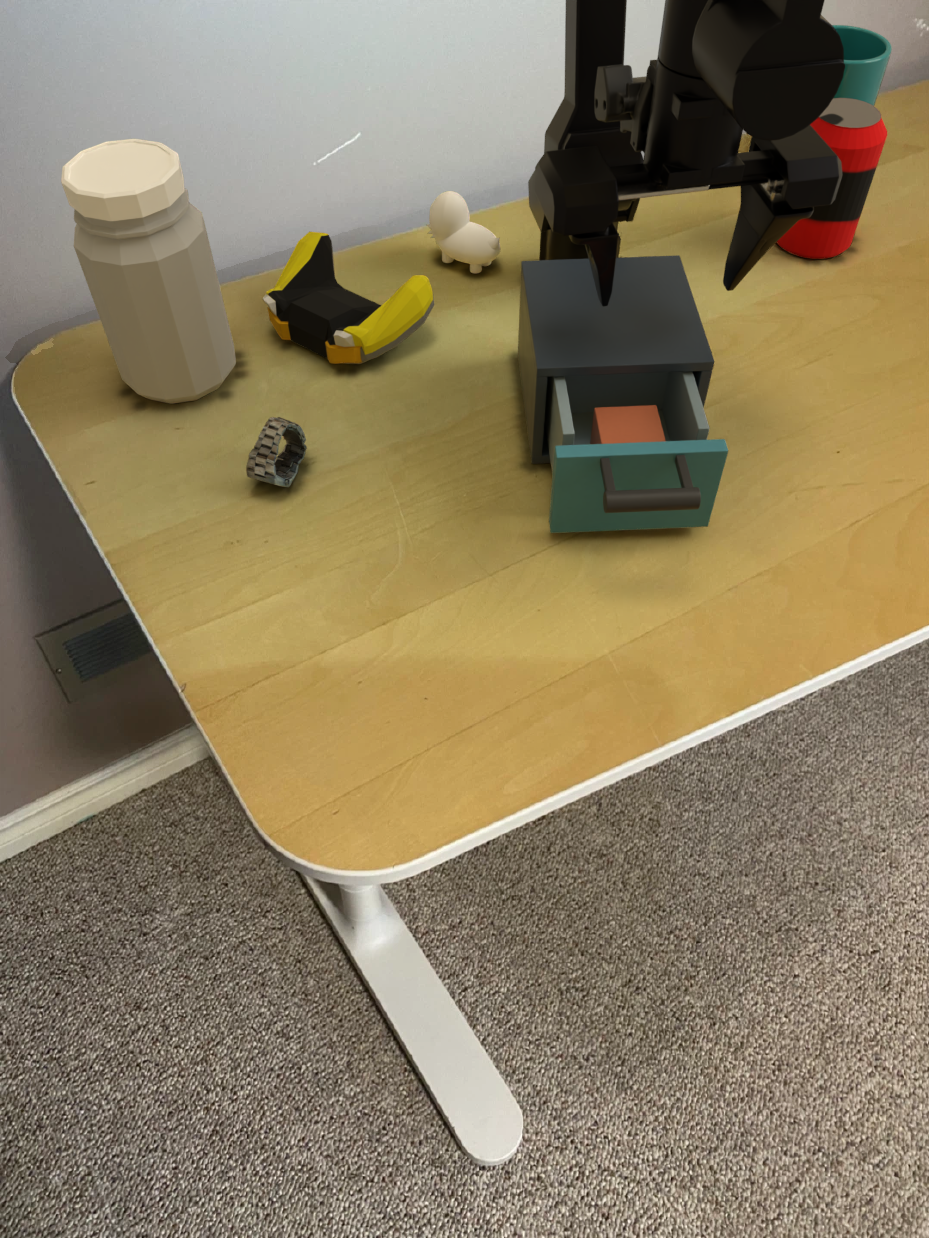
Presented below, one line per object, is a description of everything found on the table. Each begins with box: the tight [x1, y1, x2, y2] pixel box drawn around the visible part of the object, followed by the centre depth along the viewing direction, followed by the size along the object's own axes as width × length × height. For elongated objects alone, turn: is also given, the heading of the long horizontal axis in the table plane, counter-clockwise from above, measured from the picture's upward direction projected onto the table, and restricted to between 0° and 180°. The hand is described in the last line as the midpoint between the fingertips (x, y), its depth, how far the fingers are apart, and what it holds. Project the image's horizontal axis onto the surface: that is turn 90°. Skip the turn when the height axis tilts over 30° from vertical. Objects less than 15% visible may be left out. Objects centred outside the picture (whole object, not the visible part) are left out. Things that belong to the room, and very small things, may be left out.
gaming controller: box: [262, 231, 435, 365], centre depth 84 cm, size 15×6×10 cm
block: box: [590, 405, 666, 444], centre depth 69 cm, size 4×4×4 cm
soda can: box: [776, 98, 888, 260], centre depth 89 cm, size 8×8×12 cm
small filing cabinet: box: [517, 254, 716, 465], centre depth 75 cm, size 14×13×9 cm
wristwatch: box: [245, 416, 308, 488], centre depth 73 cm, size 3×5×5 cm
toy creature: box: [426, 190, 502, 274], centre depth 90 cm, size 5×8×6 cm, turn 56°
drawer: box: [544, 371, 729, 534], centre depth 68 cm, size 17×11×8 cm
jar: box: [60, 138, 237, 405], centre depth 75 cm, size 10×10×18 cm
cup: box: [831, 24, 893, 107], centre depth 100 cm, size 9×12×11 cm
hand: (665, 295), depth 68 cm, fingers open, 9 cm apart
